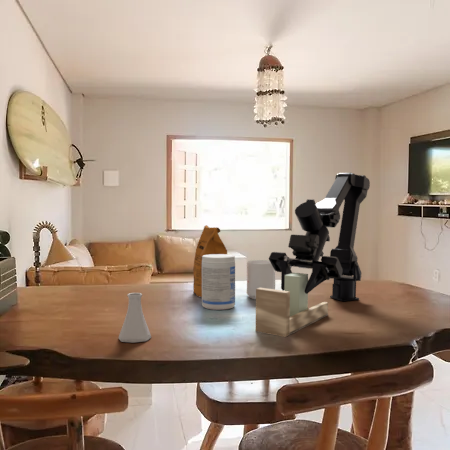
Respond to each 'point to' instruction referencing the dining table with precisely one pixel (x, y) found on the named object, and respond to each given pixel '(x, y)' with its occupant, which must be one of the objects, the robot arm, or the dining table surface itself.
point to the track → (283, 313)
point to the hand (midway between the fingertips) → (293, 291)
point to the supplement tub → (218, 281)
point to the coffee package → (205, 246)
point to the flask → (134, 322)
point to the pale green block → (297, 292)
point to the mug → (259, 276)
